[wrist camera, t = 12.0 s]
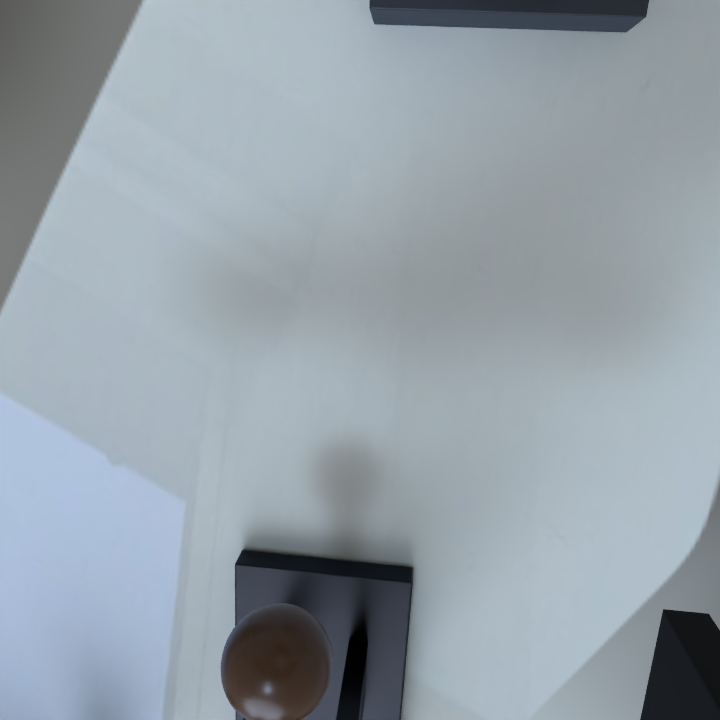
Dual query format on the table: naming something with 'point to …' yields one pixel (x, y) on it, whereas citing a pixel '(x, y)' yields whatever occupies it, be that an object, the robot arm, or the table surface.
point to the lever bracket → (341, 624)
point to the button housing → (513, 14)
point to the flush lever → (277, 663)
